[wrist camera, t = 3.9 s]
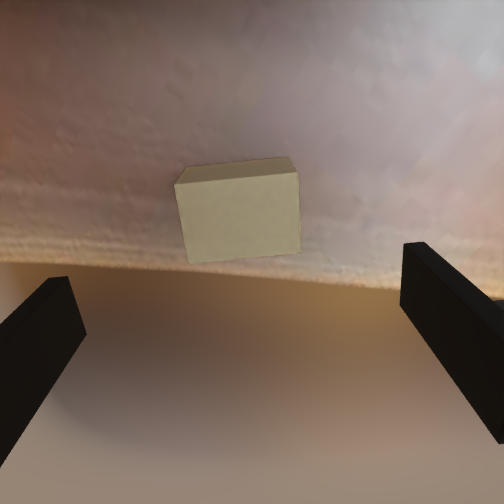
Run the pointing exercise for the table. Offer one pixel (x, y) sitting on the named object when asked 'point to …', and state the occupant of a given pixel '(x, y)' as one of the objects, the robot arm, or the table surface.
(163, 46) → the table surface
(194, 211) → the beige rectangular block
